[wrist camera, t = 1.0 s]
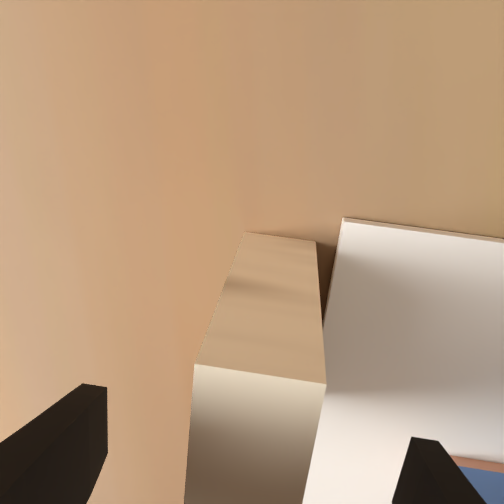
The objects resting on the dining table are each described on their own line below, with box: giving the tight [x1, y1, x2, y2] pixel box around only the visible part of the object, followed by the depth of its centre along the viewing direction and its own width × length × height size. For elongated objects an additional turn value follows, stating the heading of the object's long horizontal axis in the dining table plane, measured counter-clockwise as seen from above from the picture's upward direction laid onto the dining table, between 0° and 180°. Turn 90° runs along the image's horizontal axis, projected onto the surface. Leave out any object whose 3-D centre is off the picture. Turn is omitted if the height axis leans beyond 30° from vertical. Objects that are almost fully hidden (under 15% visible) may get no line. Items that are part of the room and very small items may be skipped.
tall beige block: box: [184, 232, 327, 504], centre depth 13 cm, size 6×2×8 cm, turn 174°
